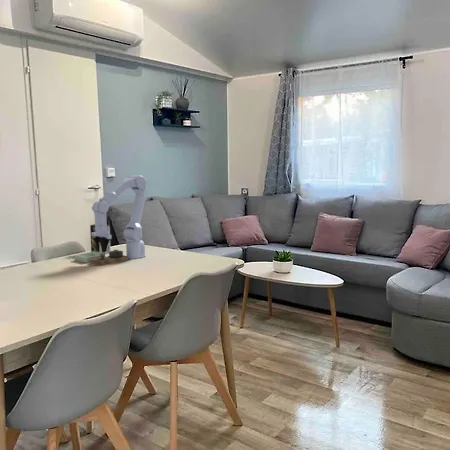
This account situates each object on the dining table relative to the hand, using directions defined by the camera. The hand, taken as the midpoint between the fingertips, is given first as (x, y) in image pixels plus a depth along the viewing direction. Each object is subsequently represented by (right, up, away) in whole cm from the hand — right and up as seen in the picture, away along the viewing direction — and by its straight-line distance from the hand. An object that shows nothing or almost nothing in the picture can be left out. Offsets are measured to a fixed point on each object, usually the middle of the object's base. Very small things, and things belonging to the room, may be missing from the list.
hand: (102, 251), depth 238 cm
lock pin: (0, -3, 0) cm, 3 cm away
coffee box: (-8, -3, +27) cm, 28 cm away
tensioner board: (+3, -6, +4) cm, 7 cm away
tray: (-8, -5, +8) cm, 13 cm away
